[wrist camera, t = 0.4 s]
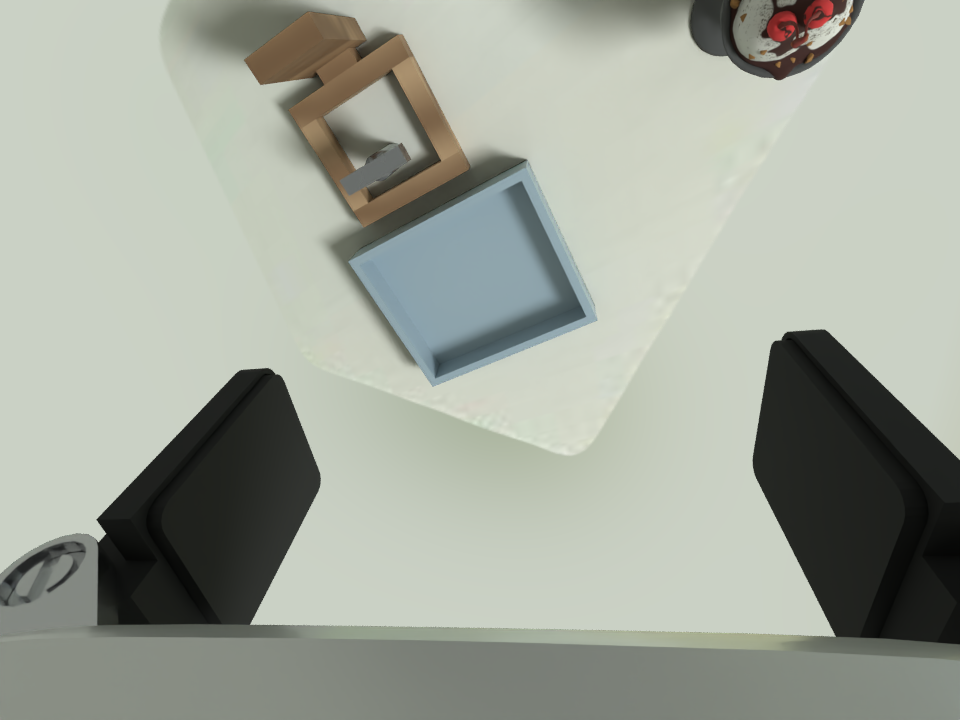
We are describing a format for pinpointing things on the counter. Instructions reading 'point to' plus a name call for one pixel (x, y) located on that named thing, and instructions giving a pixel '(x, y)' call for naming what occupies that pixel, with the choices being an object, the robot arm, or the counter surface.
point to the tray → (477, 278)
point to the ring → (344, 73)
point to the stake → (376, 168)
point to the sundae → (772, 32)
